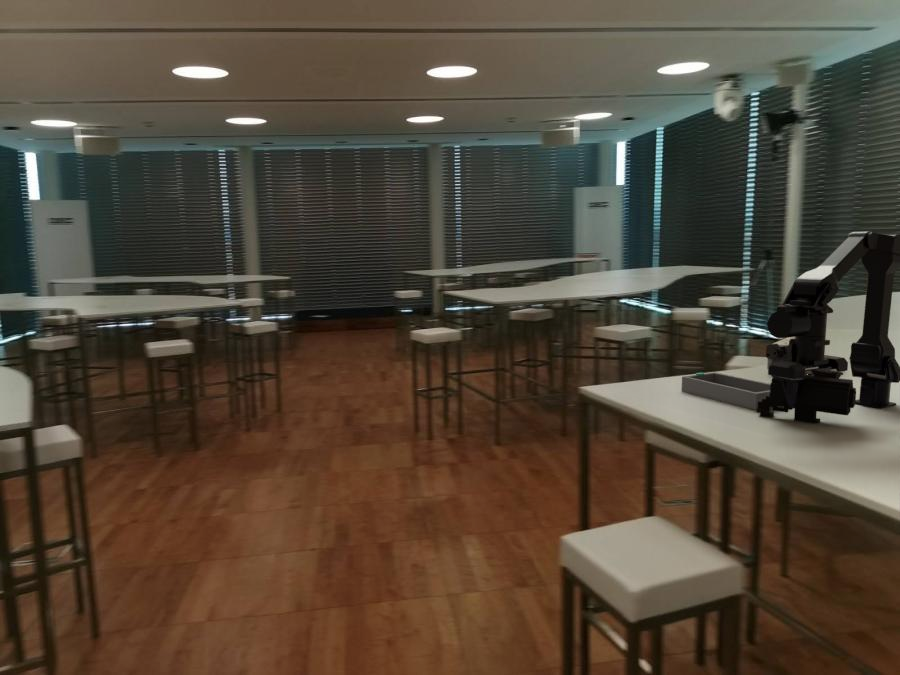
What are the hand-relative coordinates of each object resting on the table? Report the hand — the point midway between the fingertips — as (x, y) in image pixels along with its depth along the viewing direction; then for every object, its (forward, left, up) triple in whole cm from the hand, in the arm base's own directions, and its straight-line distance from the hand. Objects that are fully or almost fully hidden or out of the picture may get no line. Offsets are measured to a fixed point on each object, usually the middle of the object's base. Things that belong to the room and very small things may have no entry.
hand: (805, 405), depth 136 cm
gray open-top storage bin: (-5, -23, -4) cm, 24 cm away
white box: (-45, -35, -4) cm, 57 cm away
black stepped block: (0, 0, -4) cm, 4 cm away
